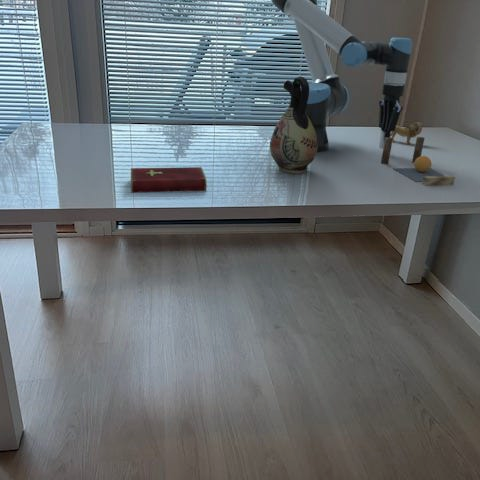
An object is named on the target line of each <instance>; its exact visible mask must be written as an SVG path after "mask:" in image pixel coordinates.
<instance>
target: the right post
mask: <svg viewBox="0 0 480 480" xmlns="http://www.w3.org/2000/svg"><path fill="white" fill-rule="evenodd" d="M424 143H425V137H424V136H423V137H422V136H416V140H415V145H414V151H413V156H412V159H411V161H412V163H413V164H414V162H415V160H416V159H417V158H418V157H420V156H422V152H423V147H424Z"/></svg>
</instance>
